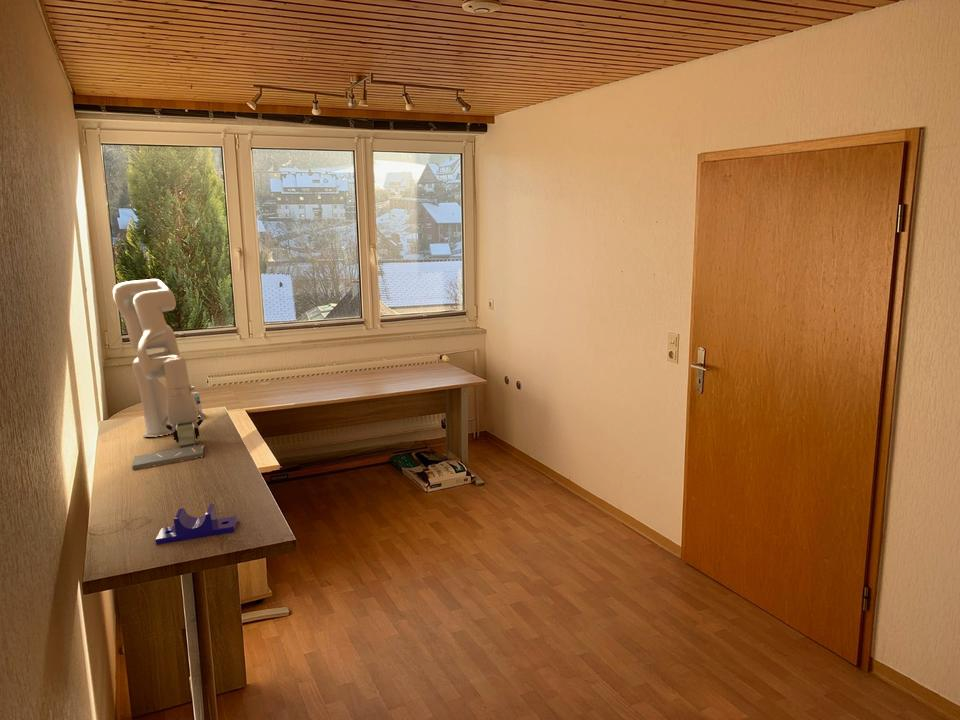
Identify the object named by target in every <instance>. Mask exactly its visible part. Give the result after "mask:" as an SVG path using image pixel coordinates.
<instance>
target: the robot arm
mask: <svg viewBox="0 0 960 720" xmlns="http://www.w3.org/2000/svg"><path fill="white" fill-rule="evenodd" d="M112 296H113V301H114V302H115V305H116V308H117V309H118V311H119V312H120V314H121V315H122V318H123V320H124V322H125V326H126V330H127V334H128V338H129V342H130V345H131V347H132V349H133V351H134V352H136V354H137V355H136V356H137V357H135V359H133V361H132V366H131V367H132V370H133V374H134V376H135V378H136V382H137V386H138V389H139V390H138V391H139V395H140V400H141V407H142V412H143V418H144V423H145V429H146V430H145V431H144V432H143V433H142V438H145V437H155V436H160V435H167V434H170V433H173V434H172V436H173V440H174V441H176V443H179V437H178V431H177V424H180V423H186V422H192V424H193V430H194V436H195V440H199V439H198V438H199V437H200V431H199V427H200V426H201V425H202V423H203V422H204V421H206V418H207V415H206V414H205V413H203V411H202V412H201V411H199V410H198V409H197V404H196V400H195V397H194V394H193V393H194V391H195V386H191V385H190V379H189V374H188V367H187V361H186V359H185V358H184V357H182V356H181V354H180V350H179V346H178V343H177V338H176V335H175V332H174V330H173V329H172V328H173V327H171V326H170V325H168V324H167V322H166V319H165V316H164V313H165V312H170V311H171V312H172V311H173V310H175V308H176V305H177V304H176V303H177V302H176V300H177V299H176V297H175V295H174V293H173V291H172V290H171V289H170V288H169V287H168V286H167V285H166V284H165V283H164V282H163V281H162V280H160V279H158V278H150V279H138V280H130V281H128V280H127V281H123V282H120V283H117V284H115V285H114V287H113V288H112ZM163 312H164V313H163ZM155 350H156V351H157V350H163V351H160V352H159V351H158V352H152V351H155ZM149 351H151V352H152V353H148V352H149ZM161 378H162V379H163V378H165V383H166V385H165V384H164V383H163V382H161V381H160V380H159V379H161ZM192 391H193V392H192ZM198 415H200V416H201V417H200V418H198ZM170 435H171V434H170ZM167 436H168V435H167Z"/></svg>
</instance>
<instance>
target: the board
mask: <svg viewBox="0 0 960 720" xmlns="http://www.w3.org/2000/svg"><path fill="white" fill-rule="evenodd" d="M204 447H205V445H203V444H195V446H190V447H184V448H180V447H179V448H174V449H167V450H163V451H157V452H150V453H147V454H145V453H144V454H141V455H134V458H133V461H132V464H131V467H132V471H134V470H135V469H136V470H140V469H139V468H141V469H145V468H144V467H147V468H149V467H148V466H152V467H154V466H153V465H158V466H160V465H159V464H163V465H168V464H167V463H169V464H173V463H172V462H174V463H178V462H177V461H179V462H182V461H181V460H185V461H188V460H187V459H190V460H192V459H191V458H195V457H201V456H204V457H205V455H204V454H205V453H203V452H204ZM201 458H202V457H201Z"/></svg>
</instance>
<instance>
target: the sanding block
mask: <svg viewBox="0 0 960 720" xmlns="http://www.w3.org/2000/svg"><path fill="white" fill-rule="evenodd" d="M176 427H177V433H178V439H179V442H178V443H179V448H184V447H190V446H194V445H195V446H196V438H195V432H194V424H193V423H192V422H186V423H180V424H177V425H176Z"/></svg>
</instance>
